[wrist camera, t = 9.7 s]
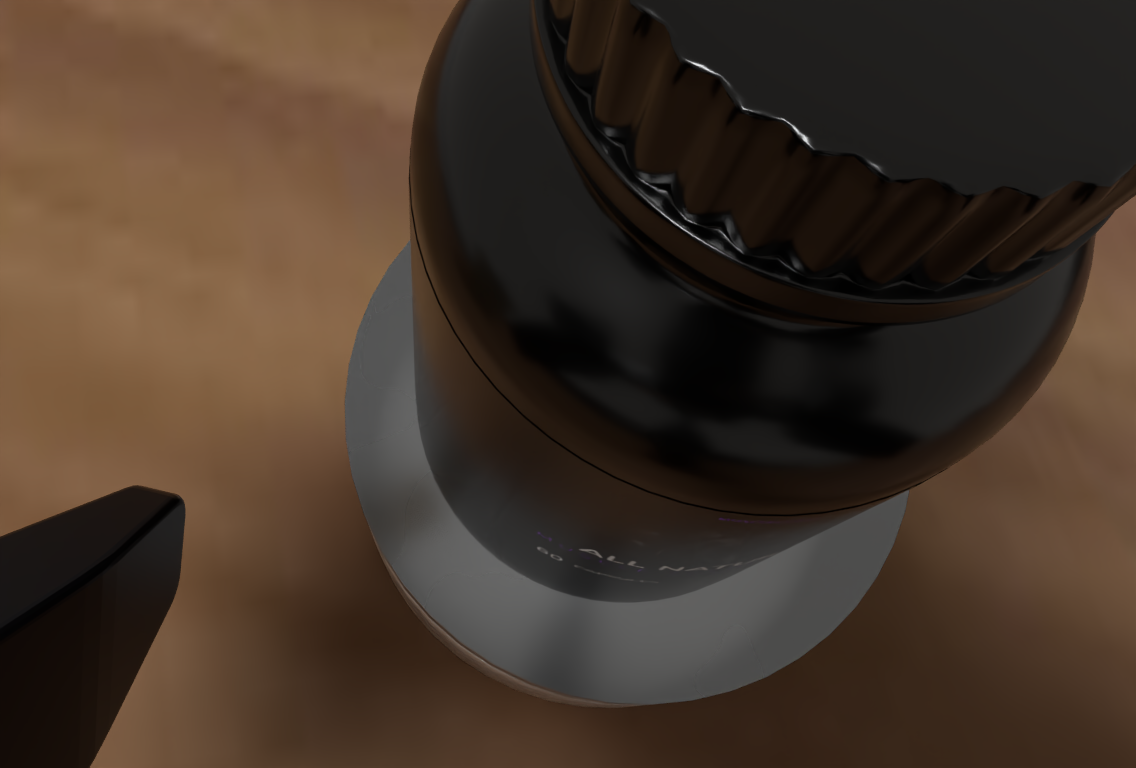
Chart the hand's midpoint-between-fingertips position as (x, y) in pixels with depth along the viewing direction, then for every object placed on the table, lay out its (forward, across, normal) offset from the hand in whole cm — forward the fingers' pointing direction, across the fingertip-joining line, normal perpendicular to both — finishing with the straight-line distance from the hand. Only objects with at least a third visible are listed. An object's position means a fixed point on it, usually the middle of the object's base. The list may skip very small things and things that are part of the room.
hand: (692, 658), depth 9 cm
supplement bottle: (+9, 0, +2) cm, 9 cm away
